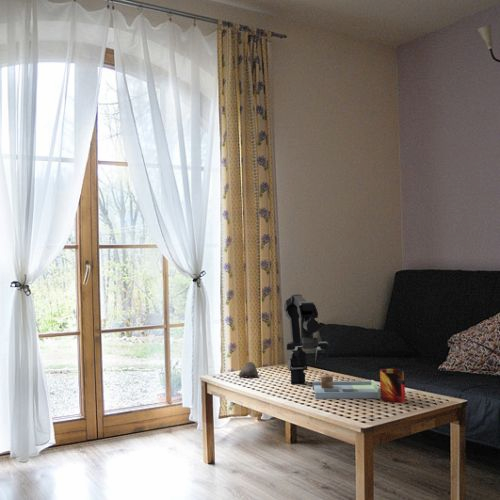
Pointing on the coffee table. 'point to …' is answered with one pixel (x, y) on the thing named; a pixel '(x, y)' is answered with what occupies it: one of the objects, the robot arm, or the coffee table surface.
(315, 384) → the trap box
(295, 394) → the coffee table surface
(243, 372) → the stone
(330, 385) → the block
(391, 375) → the mug
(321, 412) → the coffee table surface
